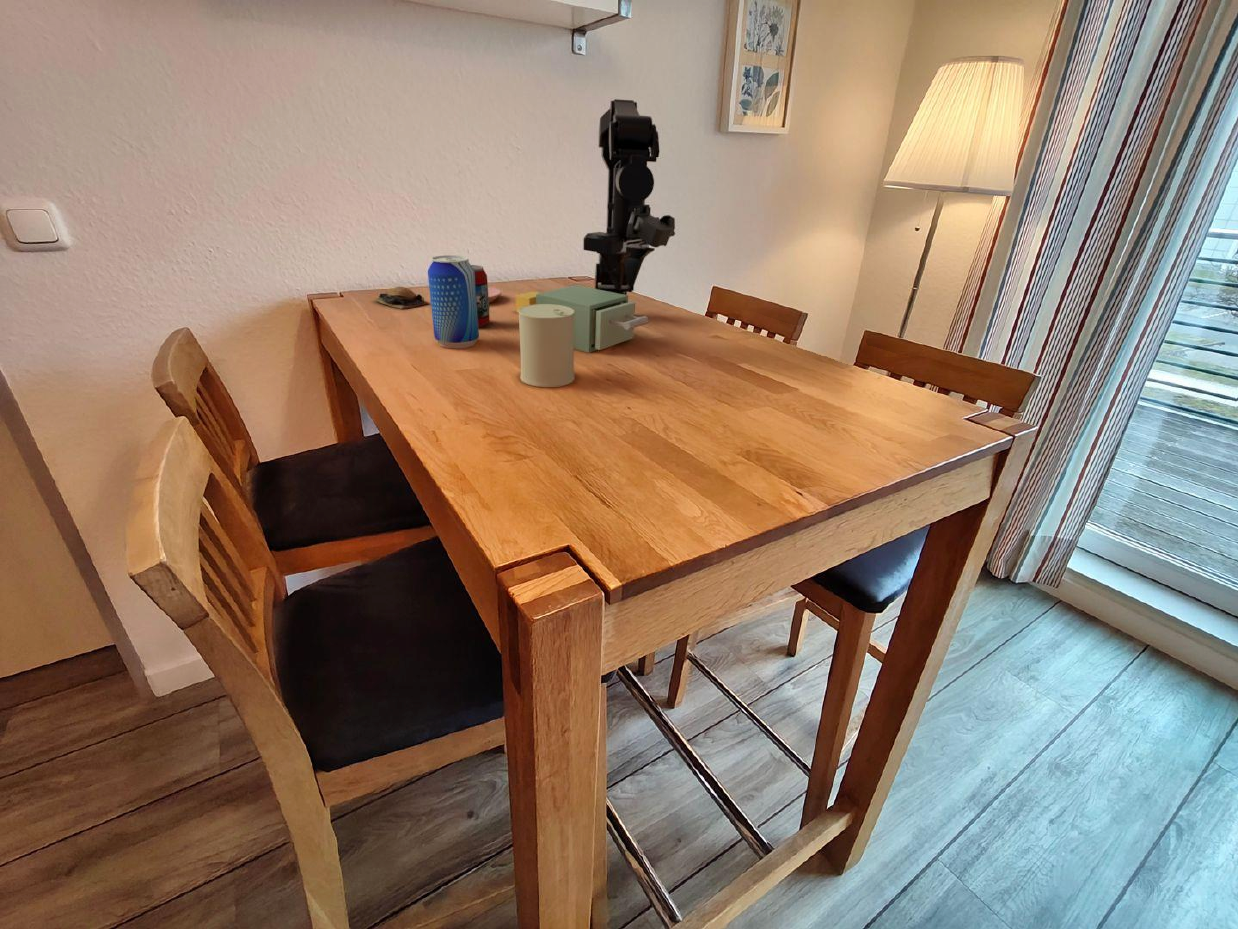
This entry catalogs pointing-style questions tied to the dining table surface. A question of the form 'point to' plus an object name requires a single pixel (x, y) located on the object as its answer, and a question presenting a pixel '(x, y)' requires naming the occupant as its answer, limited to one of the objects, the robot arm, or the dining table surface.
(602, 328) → the drawer
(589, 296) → the cabinet
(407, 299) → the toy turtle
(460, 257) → the beer can
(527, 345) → the can
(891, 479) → the dining table surface
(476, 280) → the beverage can
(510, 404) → the dining table surface
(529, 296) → the block
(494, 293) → the plate
